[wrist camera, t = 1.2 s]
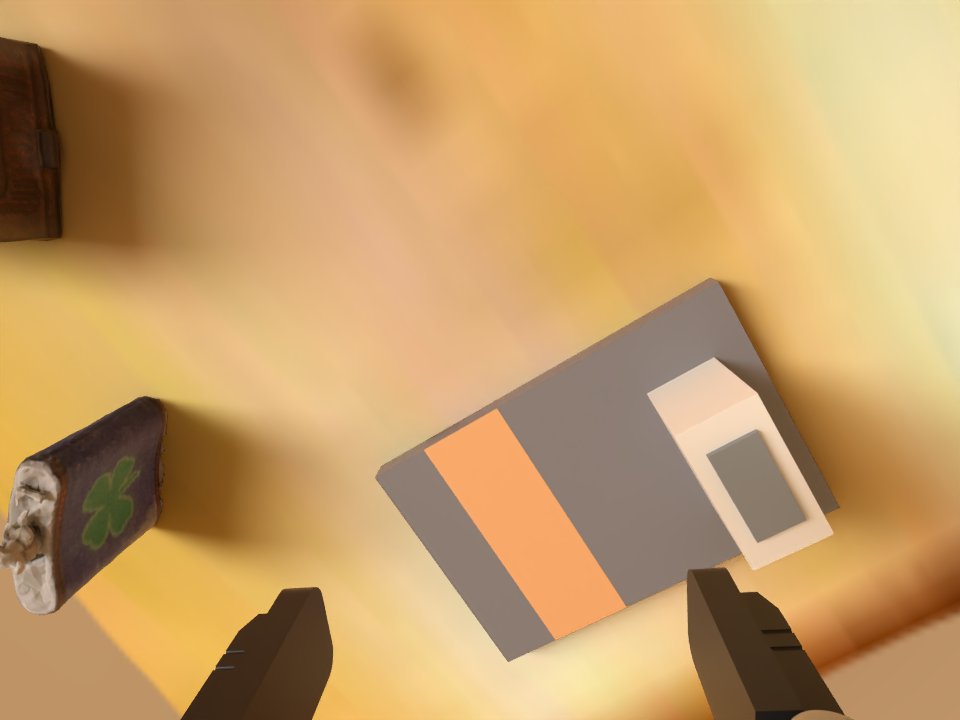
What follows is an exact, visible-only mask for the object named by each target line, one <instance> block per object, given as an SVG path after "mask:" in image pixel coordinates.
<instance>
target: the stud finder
mask: <svg viewBox="0 0 960 720" xmlns="http://www.w3.org/2000/svg"><path fill="white" fill-rule="evenodd" d="M647 395H648V397H649V399H650V400H651V402H652V404H653V405H654V407H655V409H656V410H657V412H658V414H659V415H660V417H661V419H662V421H663V422H664V424H665V426H666V427H667V429H668V431H669V432H670V434H671V436H672V437H673V439H674V441H675V443H676V444H677V446H678V448H679V449H680V451H681V453H682V454H683V456H684V458H685V460H686V461H687V463H688V465H689V466H690V468H691V470H692V471H693V473H694V475H695V476H696V478H697V480H698V482H699V483H700V485H701V487H702V488H703V490H704V492H705V493H706V495H707V497H708V499H709V500H710V502H711V504H712V505H713V507H714V509H715V510H716V512H717V513H718V515H719V517H720V518H721V520H722V522H723V523H724V525H725V526H726V528H727V530H728V531H729V533H730V534H731V536H732V538H733V539H734V541H735V542H736V544H737V546H738V547H739V549H740V551H741V552H742V554H743V555H744V557H745V559H746V560H747V562H748V563H749V565H750V567H751V568H752V570H753V571H755V570H757V569H759V568H761V567H763V566H766V565H768V564H770V563H772V562H774V561H777V560H779V559H781V558H783V557H785V556H787V555H790V554H792V553H794V552H796V551H798V550H801V549H803V548H805V547H807V546H809V545H812V544H814V543H816V542H818V541H820V540H822V539H825V538H827V537H829V536H831V535H833V534H834V532H833V531H832V529H831V527H830V525H829V523H828V521H827V520H826V518H825V516H824V514H823V512H822V510H821V509H820V507H819V505H818V503H817V501H816V499H815V498H814V496H813V494H812V492H811V490H810V488H809V487H808V485H807V483H806V481H805V479H804V477H803V476H802V474H801V472H800V470H799V468H798V466H797V465H796V463H795V461H794V459H793V457H792V455H791V454H790V452H789V450H788V448H787V446H786V445H785V443H784V441H783V439H782V437H781V435H780V434H779V432H778V430H777V428H776V426H775V424H774V423H773V421H772V419H771V417H770V415H769V413H768V412H767V410H766V408H765V406H764V404H763V402H762V401H761V399H760V397H759V395H758V393H757V392H756V391H754V390H753V389H752V388H751V387H750V386H748V385H747V384H746V383H745V382H743V381H742V380H741V379H740V378H739V377H737V376H736V375H735V374H734V373H733V372H731V371H730V370H729V369H728V368H726V367H725V366H724V365H723V364H722V363H720V362H719V361H718V360H717V359H716V358H714V357H713V358H712V359H710V360H708V361H706V362H704V363H702V364H701V365H699V366H697V367H695V368H693V369H691V370H690V371H688V372H686V373H684V374H682V375H680V376H678V377H677V378H675V379H673V380H671V381H669V382H667V383H666V384H664V385H662V386H660V387H658V388H656V389H655V390H653V391H651V392H649V393H647Z"/></svg>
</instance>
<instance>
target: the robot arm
mask: <svg viewBox="0 0 960 720" xmlns="http://www.w3.org/2000/svg"><path fill="white" fill-rule="evenodd" d="M687 606H688V636H689V644H690V649H691V654H692V658H693V662H694V665H695V668H696V670H697V673H698V676H699V679H700V681H701V684H702V687H703V689H704V692H705V695H706V698H707V700H708V703H709V706H710V709H711V711H712V714H713V717H714V719H715V720H853V719H851V718H849V717H847V716H845V715H844V713H843V711H842V710H841V708H840V707H839V705H838V703H837V702H836V700H835V699H834V697H833V696H832V694H831V692H830V691H829V689H828V688H827V686H826V684H825V683H824V681H823V679H822V678H821V676H820V674H819V673H818V671H817V670H816V668H815V666H814V665H813V663H812V662H811V660H810V658H809V657H808V655H807V654H806V652H805V650H802V646H801V644H800V642H799V641H798V639H797V638H796V636H795V634H794V633H792V631H791V628H790V626H789V625H788V623H787V621H786V620H785V618H784V617H783V615H782V613H781V612H780V610H779V609H778V608H777V607H776V606H774V605H773V604H772V603H771V602H769V601H768V600H767V599H766V598H764V597H763V596H762V595H760V594H759V593H758V592H745V593H740V592H739V590H738V588H737V586H736V584H735V582H734V581H733V579H732V577H731V575H730V573H729V572H728V570H727V569H726V568H705V569H689V570H688V572H687ZM332 662H333V645H332V640H331V635H330V630H329V625H328V621H327V616H326V611H325V606H324V601H323V597H322V593H321V591H320V589H319V588H317V587H311V588H291V589H284V590H282V591H281V592H280V594H279V595H278V597H277V599H276V600H275V602H274V604H273V605H272V607H271V608H270V610H269V612H268V613H267V614H258V615H257V616H256V617H255V618H254V619H253V620H251V621H250V622H249V623H248V624H247V625H246V626H244V627H243V628H242V629H241V630H240V631H239V632H238V633H237V635H236V636H235V638H234V639H233V641H232V642H231V644H230V645H229V647H228V648H227V650H226V654H224V655H223V656H222V658H221V659H220V661H219V662H218V664H217V665H216V669H215V670H213V671H212V673H211V674H210V676H209V677H208V679H207V680H206V682H205V683H204V685H203V686H202V688H201V689H200V691H199V692H198V694H197V696H196V697H195V699H194V700H193V702H192V703H191V705H190V706H189V708H188V709H187V711H186V712H185V714H184V715H183V717H182V718H181V720H312V718H313V715H314V713H315V711H316V708H317V706H318V703H319V701H320V698H321V696H322V693H323V691H324V688H325V686H326V684H327V681H328V679H329V676H330V673H331V669H332Z"/></svg>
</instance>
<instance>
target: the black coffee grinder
mask: <svg viewBox="0 0 960 720" xmlns="http://www.w3.org/2000/svg"><path fill="white" fill-rule="evenodd" d="M57 238H61V211H60V155H59V144H58V135H57V131H56V128H55V125H54V117H53V110H52V102H51V94H50V87H49V82H48V78H47V74H46V70H45V67H44V63H43V59H42V55H41V51H40V48H39V46H38V45H37V44H34V43H28V42H23V41H17V40H12V39H6V38H1V37H0V242H11V241H21V240H40V241H48V240H53V239H57Z"/></svg>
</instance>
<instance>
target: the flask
mask: <svg viewBox="0 0 960 720" xmlns="http://www.w3.org/2000/svg"><path fill="white" fill-rule="evenodd" d="M167 418H168V414H167V412H166V410H165V408H163V405H162V404H161V403H160V399H154V398H151V397H147V396H143V397H138V398H136V399H135V400H133V401H132V402H130V403H129V404H126V405H124V406H122V407H121V408H119V409H117V410H115V411H114V412H112V413H110V414H107V415H105V416H104V417H102V418H101V419H99V420H97V421H96V422H94V423H92V424H91V425H89V426H87V427H85V428H84V429H82V430H79V431H77V432H75V433H73V434H71V435H69V436H68V437H66V438H64V439H62V440H60V441H59V442H57V443H55V444H53V445H51V446H49V447H48V448H46V449H44V450H42V451H39V452H38V453H36V454H34V455H32V456H30V457H27V458H26V459H25V460H24V461H23V462H22V463H21V464H20V465H19V467H18V468H17V470H16V474H15V478H14V486H13V490H12V493H11V497H10V503H9V512H8V523H7V524H6V526H5V530H4V531H3V532H2V534H3V538H4V540H3V541H2V546H0V568H8V569H10V570H12V572H13V578H14V585H15V588H16V591H17V597H18V599H19V601H20V603H21V604H22V606H23V607H25V608H26V609H27V610H28V611H30V612H32V613H35V614H38V615H45V614H50V613H54V612H56V611H57V610H59V609H60V607H61V606H62V605H63V604H64V603H66V601H67V600H68V599H69V598H71V597H72V596H73V595H74V594H75V593H76V592H77V591H78V590H80V589H81V588H82V587H83V586H84V585H85V584H86V583H88V582H89V581H90V580H91V579H92V578H93V577H94V576H95V575H96V574H97V573H98V572H99V571H100V570H102V569H103V568H104V567H105V566H107V565H108V564H109V563H111V562H112V561H113V560H114V559H115V558H116V557H117V556H118V555H119V554H120V553H121V552H122V551H124V550H125V549H126V548H127V547H128V546H130V545H131V544H132V543H133V542H134V541H136V540H137V539H138V538H139V537H141V536H142V535H143V534H144V533H145V532H146V531H148V530H149V529H150V528H152V527H153V526H154V525H155V524H156V523H157V521H158V518H159V515H160V513H161V507H162V505H163V504H162V503H163V501H162V500H161V501H160V491H161V489H160V488H161V486H162V485H161V483H163V476H164V475H165V474H164V466H163V465H164V464H162V461H161V458H160V457H161V456H160V455H161V452H163V451H165V449H164V447H163V444H162V438H163V437H164V435H165V434H166V433H165V431H166V430H165V429H166V428H165V427H166V425H167V424H166V422H167Z"/></svg>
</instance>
